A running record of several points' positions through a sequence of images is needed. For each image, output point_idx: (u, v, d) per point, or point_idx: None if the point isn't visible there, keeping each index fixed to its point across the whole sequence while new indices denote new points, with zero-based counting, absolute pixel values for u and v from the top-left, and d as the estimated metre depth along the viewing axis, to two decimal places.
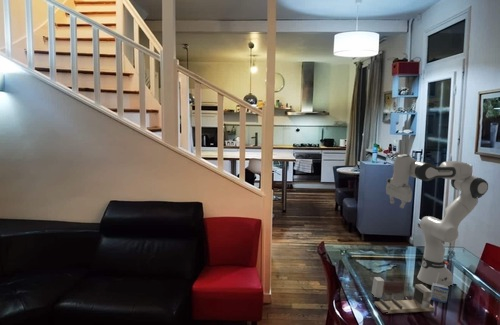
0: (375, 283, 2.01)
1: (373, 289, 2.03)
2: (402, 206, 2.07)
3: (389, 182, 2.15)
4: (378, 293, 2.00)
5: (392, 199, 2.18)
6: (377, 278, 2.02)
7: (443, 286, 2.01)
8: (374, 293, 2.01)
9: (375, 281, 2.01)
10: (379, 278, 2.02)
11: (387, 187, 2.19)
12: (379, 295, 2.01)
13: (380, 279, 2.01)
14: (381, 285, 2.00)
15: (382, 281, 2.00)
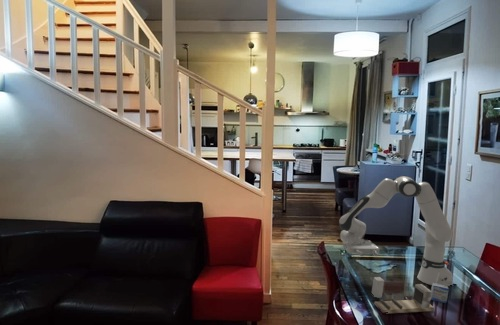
0: (375, 283, 2.01)
1: (373, 289, 2.03)
2: (360, 254, 2.11)
3: None
4: (378, 293, 2.00)
5: None
6: (377, 278, 2.02)
7: (443, 286, 2.01)
8: (374, 293, 2.01)
9: (375, 281, 2.01)
10: (379, 278, 2.02)
11: None
12: (379, 295, 2.01)
13: (380, 279, 2.01)
14: (381, 285, 2.00)
15: (382, 281, 2.00)
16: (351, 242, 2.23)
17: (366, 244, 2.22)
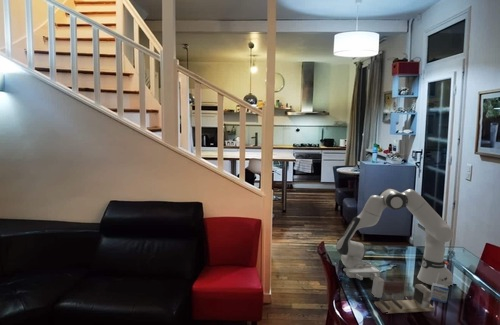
0: (375, 283, 2.01)
1: (373, 288, 2.03)
2: (359, 278, 2.10)
3: None
4: (378, 293, 2.00)
5: (375, 276, 2.14)
6: (377, 278, 2.02)
7: (443, 286, 2.01)
8: (374, 293, 2.01)
9: (375, 281, 2.01)
10: (379, 278, 2.02)
11: None
12: (379, 295, 2.01)
13: (380, 279, 2.01)
14: (381, 285, 2.00)
15: (382, 281, 2.00)
16: (351, 265, 2.23)
17: (366, 267, 2.21)
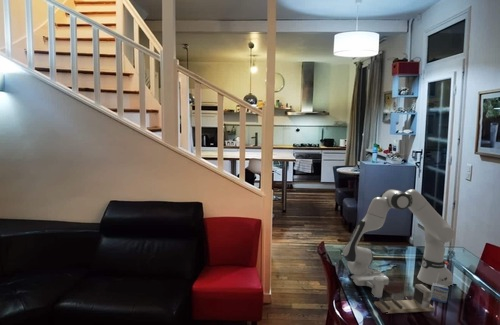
0: (375, 283, 2.01)
1: (373, 288, 2.03)
2: (371, 286, 2.02)
3: None
4: (378, 293, 2.00)
5: None
6: (377, 278, 2.02)
7: (443, 286, 2.01)
8: (374, 293, 2.01)
9: (375, 281, 2.01)
10: (379, 278, 2.02)
11: None
12: (379, 295, 2.01)
13: (380, 279, 2.01)
14: (381, 285, 2.00)
15: (382, 281, 2.00)
16: (359, 272, 2.14)
17: (375, 274, 2.12)
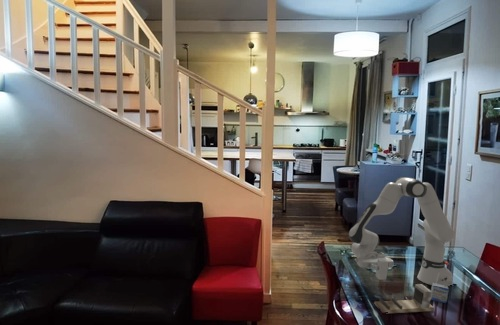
0: (379, 265, 1.97)
1: (377, 271, 1.99)
2: (375, 268, 1.98)
3: None
4: (382, 275, 1.97)
5: None
6: (381, 260, 1.98)
7: (443, 286, 2.01)
8: (378, 275, 1.98)
9: (379, 263, 1.97)
10: (383, 260, 1.98)
11: None
12: (384, 277, 1.97)
13: (384, 261, 1.97)
14: (385, 267, 1.96)
15: (386, 263, 1.96)
16: (363, 255, 2.10)
17: (379, 257, 2.09)
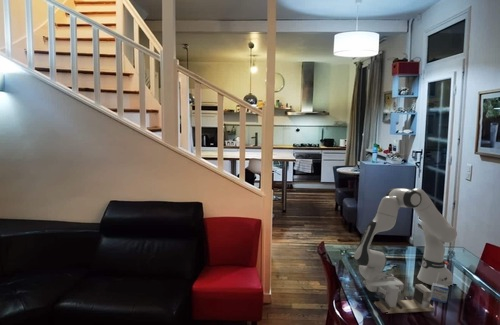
0: (389, 291, 1.88)
1: (386, 297, 1.90)
2: (384, 292, 1.88)
3: None
4: (392, 302, 1.87)
5: None
6: (391, 286, 1.89)
7: (443, 286, 2.01)
8: (388, 302, 1.88)
9: (389, 289, 1.88)
10: (393, 286, 1.89)
11: None
12: (393, 305, 1.88)
13: (394, 287, 1.88)
14: (395, 294, 1.87)
15: (397, 289, 1.87)
16: (371, 277, 2.01)
17: (389, 279, 1.99)
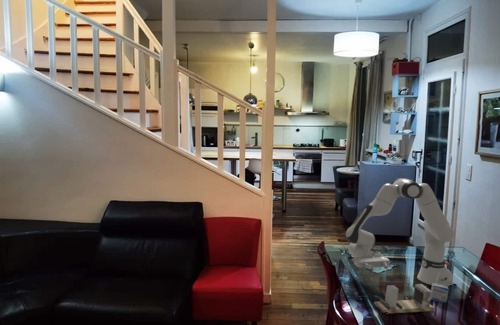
0: (389, 292, 1.88)
1: (386, 297, 1.90)
2: (369, 267, 2.02)
3: None
4: (392, 302, 1.87)
5: None
6: (391, 286, 1.89)
7: (443, 286, 2.01)
8: (388, 302, 1.88)
9: (389, 289, 1.88)
10: (393, 286, 1.89)
11: None
12: (393, 305, 1.88)
13: (394, 287, 1.88)
14: (395, 294, 1.87)
15: (396, 290, 1.87)
16: (360, 255, 2.14)
17: (375, 256, 2.13)
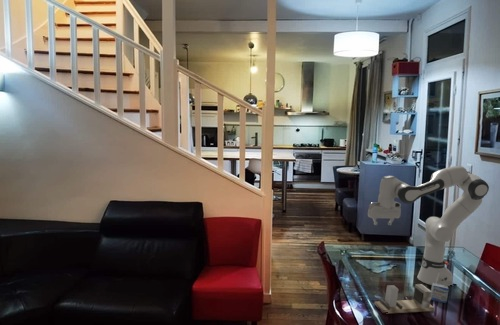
0: (389, 292, 1.88)
1: (386, 297, 1.90)
2: (374, 223, 2.18)
3: None
4: (392, 302, 1.87)
5: (390, 221, 2.20)
6: (391, 286, 1.89)
7: (443, 286, 2.01)
8: (388, 302, 1.88)
9: (389, 289, 1.88)
10: (393, 286, 1.89)
11: None
12: (393, 305, 1.88)
13: (394, 287, 1.88)
14: (395, 294, 1.87)
15: (396, 290, 1.87)
16: (380, 203, 2.15)
17: (392, 209, 2.17)
